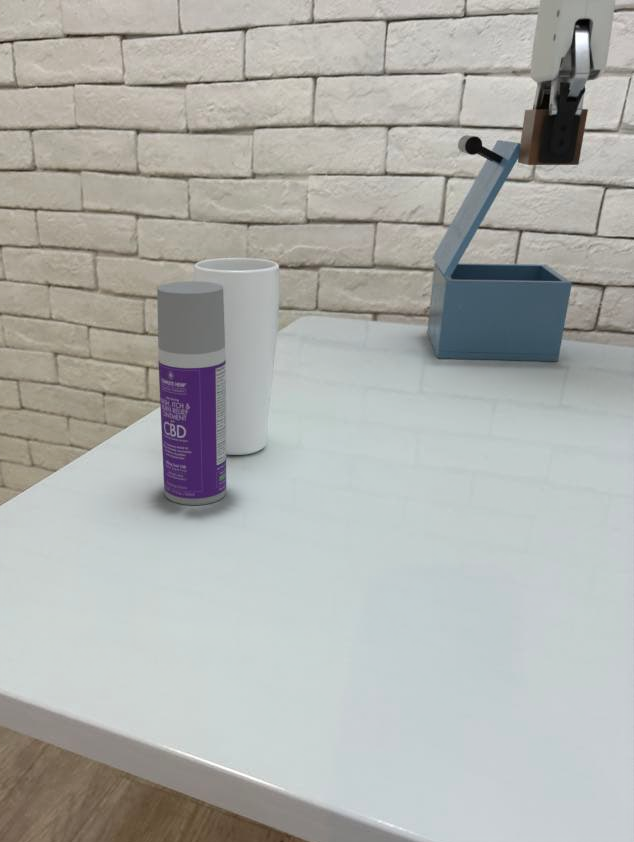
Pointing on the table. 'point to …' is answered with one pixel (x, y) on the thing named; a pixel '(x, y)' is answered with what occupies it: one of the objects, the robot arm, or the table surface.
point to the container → (192, 390)
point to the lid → (476, 198)
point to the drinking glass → (246, 344)
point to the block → (534, 134)
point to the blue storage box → (498, 312)
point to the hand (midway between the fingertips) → (548, 159)
